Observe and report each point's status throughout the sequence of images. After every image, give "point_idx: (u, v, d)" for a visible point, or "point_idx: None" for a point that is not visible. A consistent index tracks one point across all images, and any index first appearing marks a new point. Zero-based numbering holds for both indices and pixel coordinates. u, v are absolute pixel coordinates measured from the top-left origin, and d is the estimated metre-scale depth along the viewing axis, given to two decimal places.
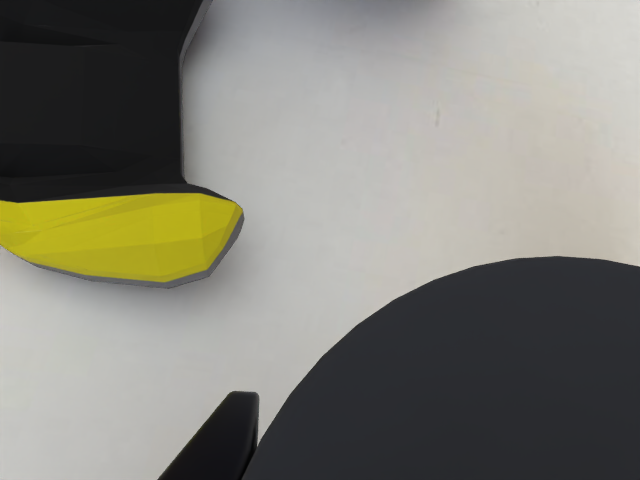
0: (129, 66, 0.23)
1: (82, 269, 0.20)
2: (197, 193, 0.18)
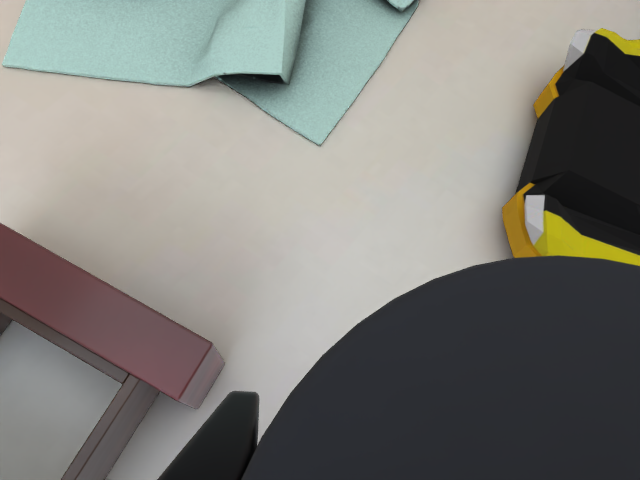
0: None
1: None
2: None
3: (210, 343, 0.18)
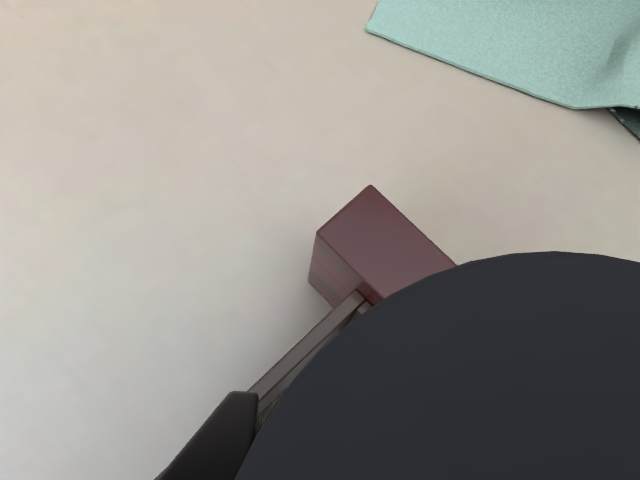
0: None
1: None
2: None
3: None
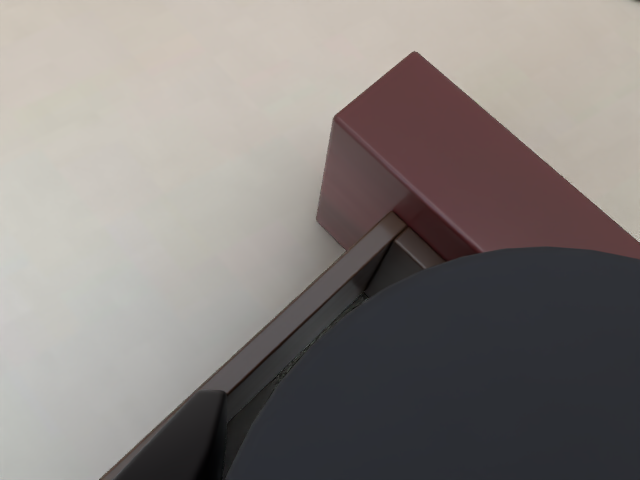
0: None
1: None
2: None
3: None
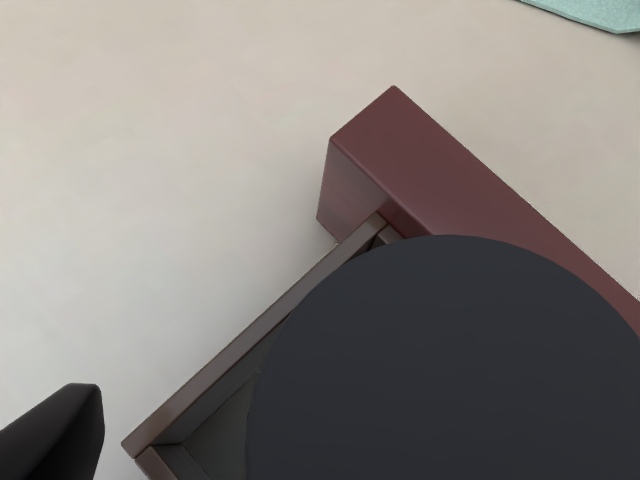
0: None
1: None
2: None
3: None
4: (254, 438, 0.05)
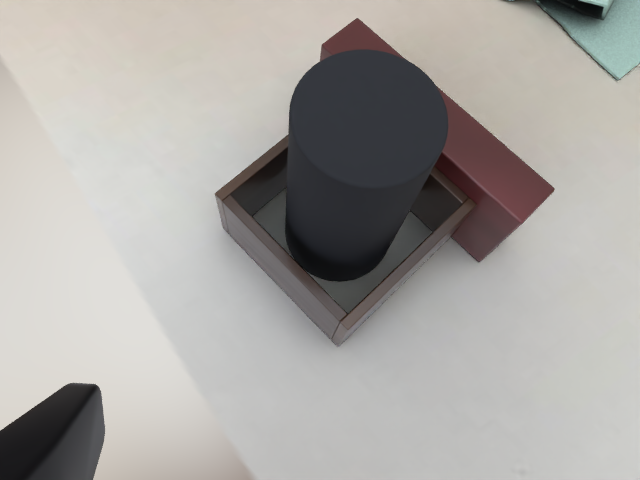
0: None
1: None
2: None
3: (553, 188, 0.20)
4: (293, 110, 0.15)
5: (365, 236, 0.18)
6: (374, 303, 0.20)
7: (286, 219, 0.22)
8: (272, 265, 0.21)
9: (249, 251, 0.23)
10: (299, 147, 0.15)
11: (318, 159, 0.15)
